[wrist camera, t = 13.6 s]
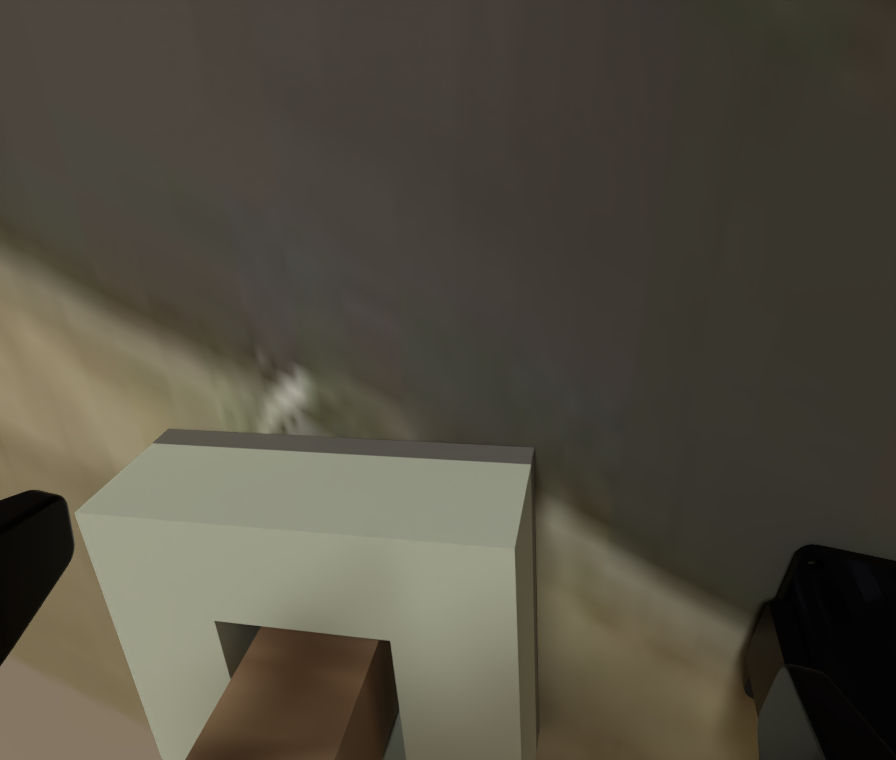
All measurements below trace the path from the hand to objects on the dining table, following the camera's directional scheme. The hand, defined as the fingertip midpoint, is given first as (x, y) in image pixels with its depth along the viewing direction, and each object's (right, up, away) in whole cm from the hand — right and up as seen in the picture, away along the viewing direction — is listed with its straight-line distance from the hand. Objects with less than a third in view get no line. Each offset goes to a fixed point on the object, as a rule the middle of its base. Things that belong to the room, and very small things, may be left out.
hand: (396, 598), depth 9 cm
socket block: (-3, -5, +18) cm, 19 cm away
